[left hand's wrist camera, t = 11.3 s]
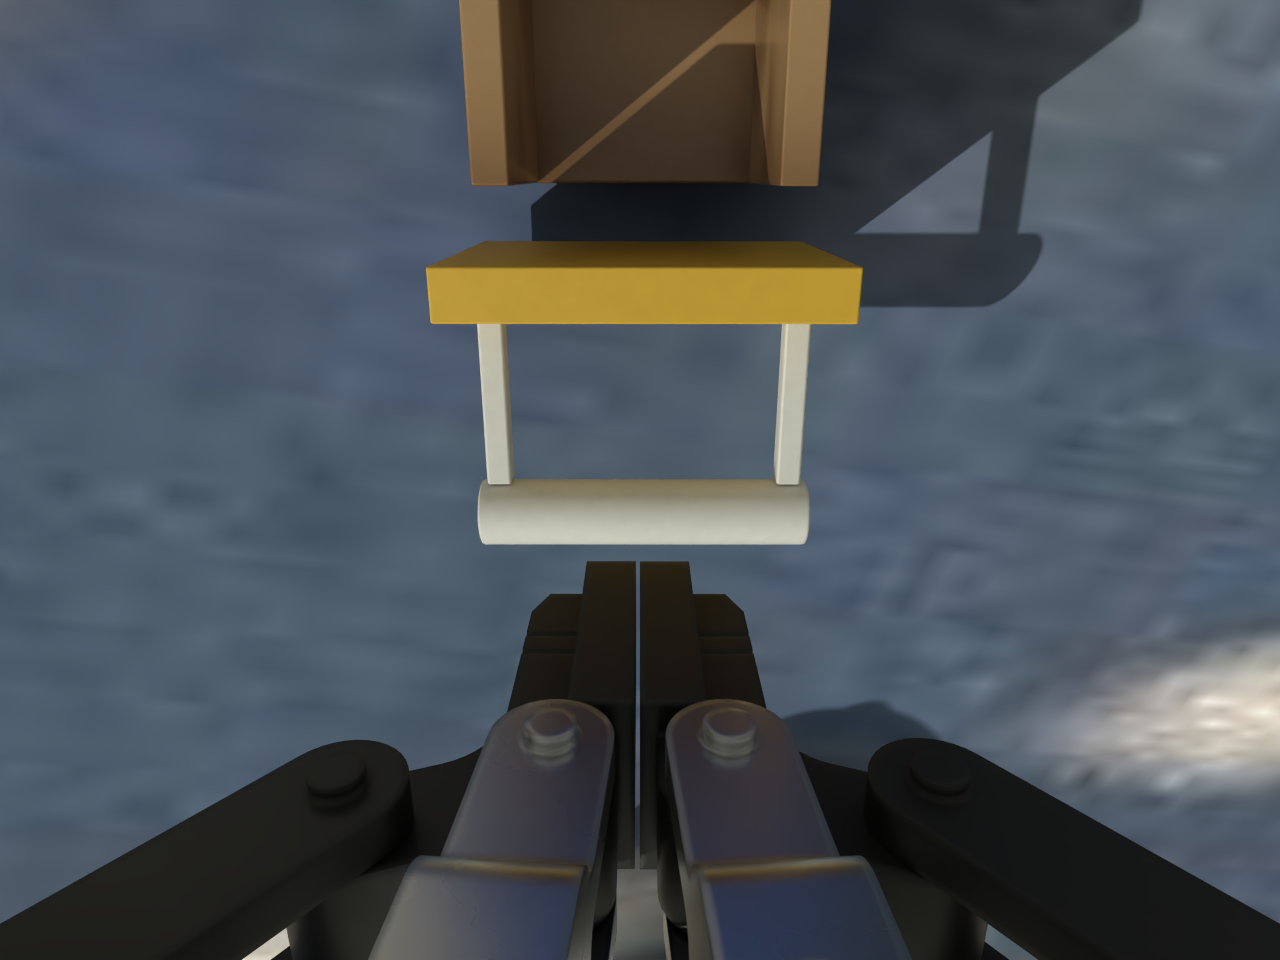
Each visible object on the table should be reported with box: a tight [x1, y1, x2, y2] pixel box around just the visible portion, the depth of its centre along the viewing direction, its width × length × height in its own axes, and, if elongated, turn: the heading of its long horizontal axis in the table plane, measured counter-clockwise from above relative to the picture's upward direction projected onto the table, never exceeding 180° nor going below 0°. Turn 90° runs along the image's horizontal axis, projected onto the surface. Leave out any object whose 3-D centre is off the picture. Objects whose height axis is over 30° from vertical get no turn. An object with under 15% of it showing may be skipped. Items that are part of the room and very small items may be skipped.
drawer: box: [426, 0, 863, 544], centre depth 20 cm, size 22×9×7 cm, turn 0°
